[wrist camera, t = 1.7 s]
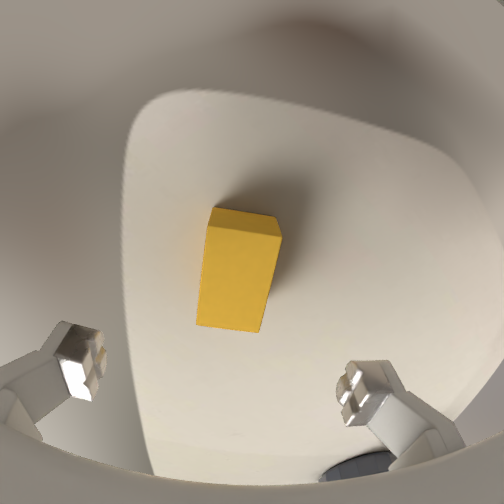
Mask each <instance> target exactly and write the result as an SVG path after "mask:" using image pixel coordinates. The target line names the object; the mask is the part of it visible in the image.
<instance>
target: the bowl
mask: <svg viewBox="0 0 504 504" xmlns="http://www.w3.org/2000/svg"><path fill="white" fill-rule="evenodd" d="M396 459H397V457H396V456H395V455H394V454H393V453H391V452H377V453H371V454H367V455H363V456H360V457H357V458H354V459H351V460H348V461H346V462H343V463H341V464H339V465H337V466H335V467H333V468H331V469H330V470H328V471H327V472H325V473H324V474H323V476H322V478H321V479H319V482H318V483H320V482H329V481H337V480H344V479H351V478H357V477H363V476H368V475H373V474H378V473H383V472H387V471H389V470H388V468H389V466H390V465H391V464H392V463H393V462H394V461H395V460H396Z"/></svg>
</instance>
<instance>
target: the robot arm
mask: <svg viewBox="0 0 504 504" xmlns="http://www.w3.org/2000/svg"><path fill="white" fill-rule="evenodd" d="M103 342H104V336H103V333H102V332H101V331H98V330H95V329H91V328H87V327H83V326H80V325H76V324H72V323H68V322H65V321H61V322H59V323H58V324H57V326H56V327H55V328H54V330H53V331H52V333H51V334H50V336H49V337H48V339H47V340H46V342H45V343H44V345H43V346H42V348H41V349H40V351H36V350H35V351H33V352H31V353H29V354H27V355H25V356H23V357H20V358H18V359H16V360H14V361H12V362H10V363H8V364H6V365H4V366H2V367H0V504H504V430H503V431H501V432H499V433H497V434H495V435H493V436H491V437H489V438H486V439H484V440H482V441H480V442H477V443H475V444H473V445H470V446H468V447H466V445H465V443H464V441H463V439H462V437H461V435H460V433H459V432H458V430H457V428H456V426H455V424H454V422H452V421H451V420H450V419H448V418H447V417H445V416H444V415H442V414H441V413H440V412H438V411H437V410H435V409H434V408H432V407H431V406H430V405H428V404H427V403H425V402H424V401H423V400H421V399H420V398H418V397H417V396H415V395H414V394H413V393H411V392H410V391H406V390H405V388H404V386H403V384H402V382H401V381H400V379H399V377H398V375H397V373H396V371H395V369H394V368H393V366H392V364H391V362H390V361H388V360H375V361H374V360H371V361H350V362H349V363H348V364H347V366H346V368H345V370H346V374H344V375H343V376H341V377H340V379H339V381H338V383H337V388H336V397H337V400H338V403H340V404H341V405H342V406H343V409H342V411H341V413H342V416H343V419H344V422H345V425H346V427H347V426H362V425H367V427H368V428H369V429H370V430H371V431H372V432H373V433H374V434H375V435H376V437H377V438H378V439H379V440H380V441H381V442H382V443H383V444H384V445H385V446H386V447H387V448H388V449H389V450H390V451H391V452H392V453H393V454H394V455H395V456H396V457H397V459H396V460H395V461H394V462H393V463H392V464H391V465H390V466H389V468H388V470H389V471H387V472H383V473H378V474H373V475H368V476H363V477H357V478H351V479H344V480H337V481H329V482H320V483H309V484H295V485H264V486H258V485H227V484H213V483H202V482H193V481H185V480H178V479H171V478H165V477H159V476H154V475H149V474H143V473H139V472H134V471H130V470H126V469H122V468H118V467H113V466H110V465H106V464H103V463H99V462H96V461H93V460H90V459H87V458H83V457H81V456H77V455H75V454H72V453H69V452H66V451H64V450H61V449H58V448H56V447H53V446H51V445H48V444H46V443H43V442H42V440H43V438H42V435H41V434H40V432H39V431H38V429H37V428H36V426H35V425H34V424H35V423H36V422H38V421H39V420H41V419H42V418H43V417H44V416H46V415H47V414H48V413H50V412H51V411H52V410H54V409H55V408H56V407H57V406H59V405H60V404H61V403H63V402H64V401H65V400H66V399H68V398H69V397H70V396H74V397H77V398H81V399H84V400H88V401H92V402H93V400H94V398H95V395H96V393H97V390H98V388H99V386H98V382H97V380H99V379H100V378H102V377H103V375H104V373H105V370H106V364H107V354H106V350H105V349H104V348H103V346H102V344H103Z"/></svg>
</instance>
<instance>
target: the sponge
mask: <svg viewBox="0 0 504 504" xmlns="http://www.w3.org/2000/svg"><path fill="white" fill-rule="evenodd" d="M282 238H283V237H282V234H281V231H280V228H279V225H278V222H277V220H276V217H273V216H267V215H261V214H255V213H248V212H242V211H236V210H229V209H223V208H216V207H213V208H212V212H211V215H210V219H209V222H208V226H207V233H206V241H205V249H204V256H203V265H202V273H201V282H200V290H199V300H198V309H197V319H196V325H200V326H207V327H214V328H222V329H230V330H238V331H246V332H255V333H259V330H260V326H261V322H262V318H263V315H264V311H265V307H266V303H267V299H268V295H269V291H270V287H271V283H272V279H273V275H274V271H275V267H276V263H277V259H278V255H279V250H280V246H281V242H282Z"/></svg>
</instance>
